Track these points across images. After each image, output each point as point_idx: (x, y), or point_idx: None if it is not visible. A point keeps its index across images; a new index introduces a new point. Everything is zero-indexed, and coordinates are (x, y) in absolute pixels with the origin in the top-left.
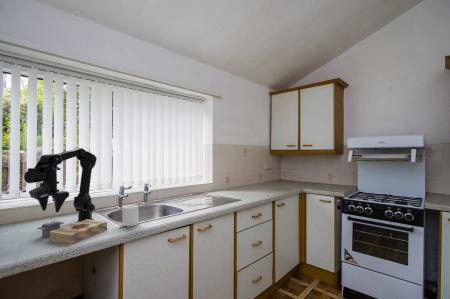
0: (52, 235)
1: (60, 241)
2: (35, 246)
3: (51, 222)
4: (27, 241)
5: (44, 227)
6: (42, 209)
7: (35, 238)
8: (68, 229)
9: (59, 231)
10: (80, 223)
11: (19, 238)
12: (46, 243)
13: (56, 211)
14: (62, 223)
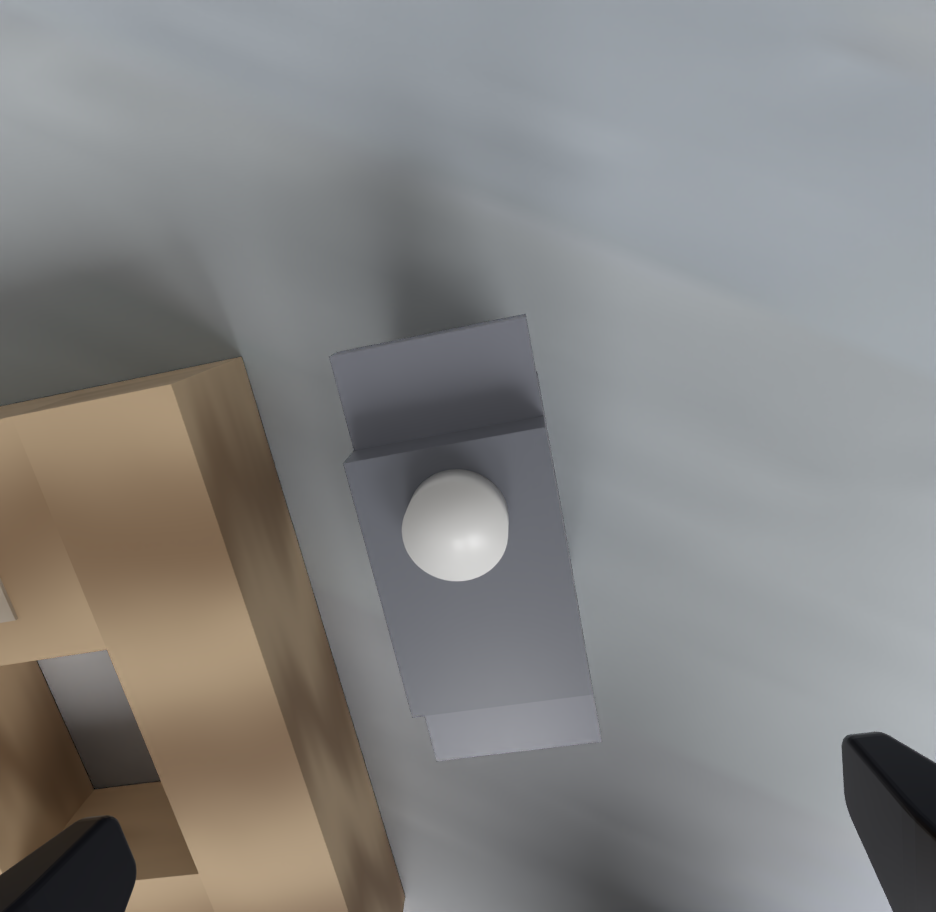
0: (133, 386)
1: (14, 403)
2: (119, 98)
3: (517, 608)
4: (508, 125)
5: (402, 405)
6: (906, 761)
7: (548, 272)
8: (25, 613)
9: (32, 483)
10: (224, 864)
11: (837, 108)
12: (125, 261)
13: (49, 842)
14: (431, 724)
